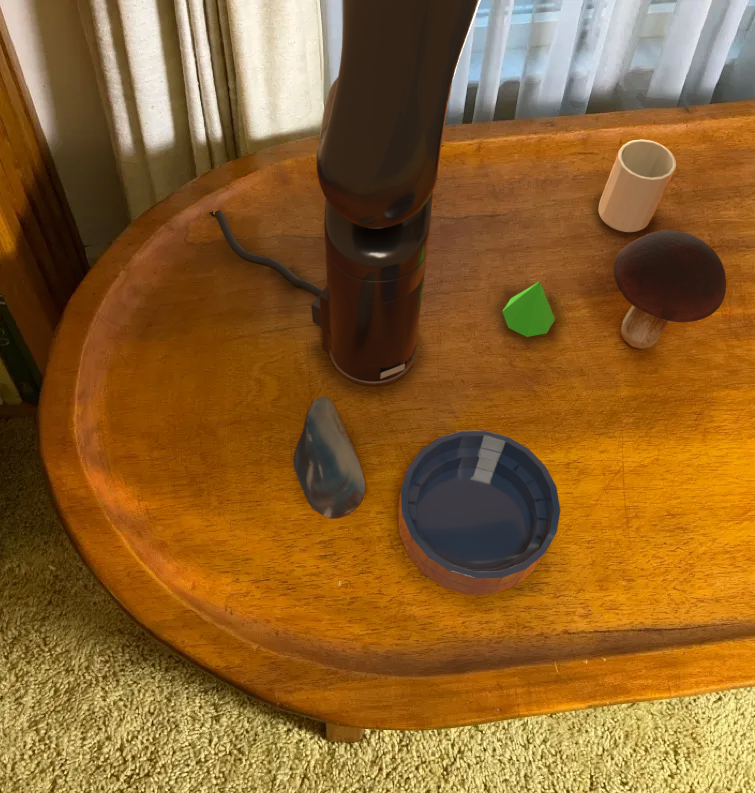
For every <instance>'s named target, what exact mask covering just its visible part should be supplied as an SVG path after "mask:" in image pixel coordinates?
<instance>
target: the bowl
mask: <svg viewBox="0 0 755 793" xmlns="http://www.w3.org/2000/svg"><path fill="white" fill-rule="evenodd" d="M560 516H561V506H560V500H559V493H558V487H557V485H556V483H555V481H554V480H553V477H552V476H551V473H550V471H549V470H548V468H547V466H546V464H544V463H543V462H542V461H541V460H540V459H539V458H538V456H536V454H534V452H532V450H531V449H530V448H528V447H527V446H525V445H523V444H522V443H520V442H518V441H516V440H514V439H513V438H511V437H509V436H508V435H503V434H500V433H496V432H493V431H488V430H481V429H479V430H458V431H456V432H453V433H450V434H449V433H448V434H445V435H443V436H440V437H437V438H436V439H435V440H433V441H432V442H430V443H429V444H427V445H426V446H425V447H423V448H422V449H421V450H420V451H419V452H418V453H417V454H416V456H415V457H414V459H413V460H412V462H411V463H410V464H409V465H408V467H407V468H406V471H405V475H404V478H403V481H402V485H401V488H400V492H399V501H398V509H397V517H398V533H399V536H400V540H401V542H402V544H403V547H404V549H405V552H406V554H407V556H408V557H409V558H410V560H411V561H412V562H413V563H414V564H415V566H416V567H417V569H418V570H419V571H420V572H421V573H422V574H423V575H424V576H426V577H427V578H429V579H430V580H431V581H433V582H435V583H436V584H438V585H439V586H441V587H443V588H444V589H447V590H450V591H454V592H457V593H462V594H464V595H471V596H472V595H493V594H497V593H499V592H502V591H505V590H508V589H511V588H513V587H516V586H517V585H519V584H520V583H522V582H523V581H524V580H525V579H526V578H527V577H528V576H530V575H531V574H532V573H533V572H534V571H535V570H536V568H537V566H538V565H539V563H540V562H541V561H542V559H543V557H544V556H545V554H546V552H547V551H548V549H549V547H550V546H551V544H552V542H553V541H554V539H555V537H556V535H557V533H558V527H559V522H560Z"/></svg>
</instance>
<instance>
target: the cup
mask: <svg viewBox="0 0 755 793" xmlns="http://www.w3.org/2000/svg"><path fill="white" fill-rule="evenodd" d="M676 168H677V161H676V158H675V156H674V154H673V153H672V151H671V150H669V149H668V148H667V147H666V146H664V145H662V144H661V143H658V142H656V141H653V140H648V139H635V140H630V141H628V142H626V143H624V144H623V145H622V146H621V147H620V149H619V150H618V152H617V154H616V158H615V160H614V162H613V166H612V168H611V170H610V173H609V176H608V179H607V181H606V184H605V187H604V189H603V191H602V194H601V197H600V200H599V202H598V203H599V204H598V207H597V208H598V209H597V210H598V211H597V212H598V215H599V217H600V219H601V220H602V221H603V222H604V224H605V225H607V226H609V227H610V228H612V229H614V230H616V231H620V232H624V233H634V232H639V231H641V230H644V229H645V228H646V227H648V226H649V224H650V222H651V220H652V219H653V217H654V215H655V213H656V210H657V209H658V207H659V204H660V202H661V201H662V198H663V196H664V194H665V192H666V190H667V188H668V185H669V183H670V181H671V179H672V177H673V174H674V173H675V170H676Z"/></svg>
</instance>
